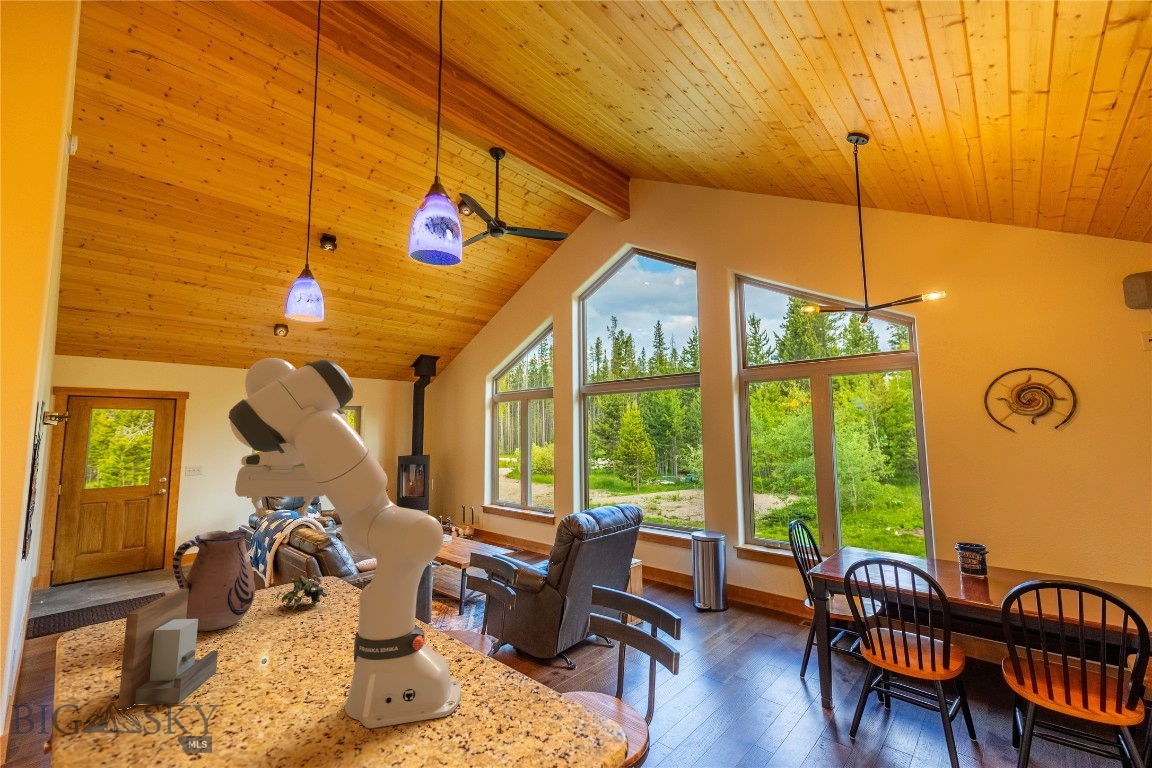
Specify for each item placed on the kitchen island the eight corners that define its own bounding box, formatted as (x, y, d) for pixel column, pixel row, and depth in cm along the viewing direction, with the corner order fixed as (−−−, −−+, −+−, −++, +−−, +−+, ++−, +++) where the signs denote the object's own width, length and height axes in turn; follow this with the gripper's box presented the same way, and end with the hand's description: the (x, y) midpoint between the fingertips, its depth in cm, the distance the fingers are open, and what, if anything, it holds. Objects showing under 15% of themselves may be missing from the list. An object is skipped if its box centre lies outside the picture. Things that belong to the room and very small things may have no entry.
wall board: (219, 669, 115) (226, 587, 117) (174, 707, 99) (182, 612, 101) (171, 671, 114) (179, 588, 115) (117, 710, 98) (127, 614, 99)
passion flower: (312, 621, 158) (337, 589, 160) (286, 627, 148) (312, 593, 149) (292, 596, 162) (316, 565, 164) (265, 600, 152) (291, 567, 153)
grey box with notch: (198, 666, 110) (202, 618, 111) (180, 679, 104) (184, 629, 105) (169, 667, 109) (173, 619, 110) (149, 680, 103) (154, 630, 104)
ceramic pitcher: (267, 616, 147) (274, 529, 150) (202, 646, 127) (211, 544, 129) (216, 611, 150) (223, 526, 153) (144, 640, 130) (154, 540, 132)
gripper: (334, 457, 127) (331, 513, 126) (247, 456, 124) (243, 513, 123) (326, 458, 121) (322, 517, 120) (234, 457, 118) (229, 517, 117)
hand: (281, 515), depth 121 cm, fingers open, 8 cm apart
